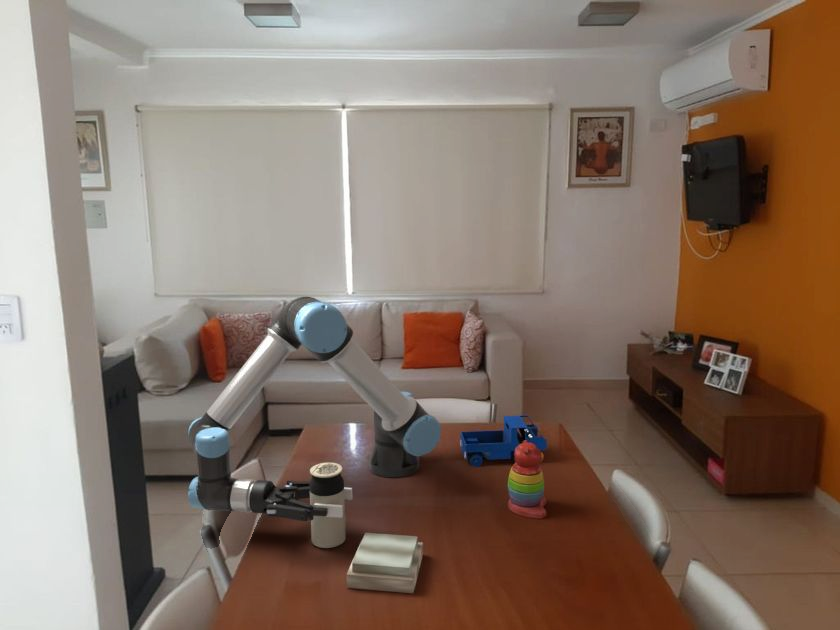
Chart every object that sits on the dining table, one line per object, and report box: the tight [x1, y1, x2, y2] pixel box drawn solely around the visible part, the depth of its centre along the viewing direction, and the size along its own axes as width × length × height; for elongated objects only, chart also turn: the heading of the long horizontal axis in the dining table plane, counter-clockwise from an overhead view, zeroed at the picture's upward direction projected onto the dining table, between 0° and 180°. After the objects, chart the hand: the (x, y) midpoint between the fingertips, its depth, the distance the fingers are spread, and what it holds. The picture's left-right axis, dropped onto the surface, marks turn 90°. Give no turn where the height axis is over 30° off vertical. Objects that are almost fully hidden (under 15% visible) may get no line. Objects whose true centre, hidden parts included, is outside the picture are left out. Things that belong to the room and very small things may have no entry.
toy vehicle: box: [460, 414, 548, 468], centre depth 188 cm, size 25×12×12 cm, turn 94°
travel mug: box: [309, 462, 347, 549], centre depth 141 cm, size 8×8×18 cm
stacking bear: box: [507, 440, 547, 520], centre depth 156 cm, size 11×10×18 cm
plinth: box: [345, 532, 424, 594], centre depth 131 cm, size 14×14×5 cm
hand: (347, 502), depth 140 cm, fingers closed on travel mug, 8 cm apart
